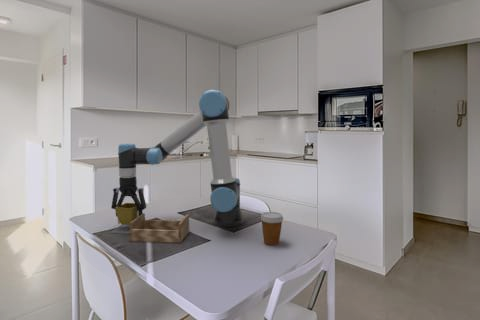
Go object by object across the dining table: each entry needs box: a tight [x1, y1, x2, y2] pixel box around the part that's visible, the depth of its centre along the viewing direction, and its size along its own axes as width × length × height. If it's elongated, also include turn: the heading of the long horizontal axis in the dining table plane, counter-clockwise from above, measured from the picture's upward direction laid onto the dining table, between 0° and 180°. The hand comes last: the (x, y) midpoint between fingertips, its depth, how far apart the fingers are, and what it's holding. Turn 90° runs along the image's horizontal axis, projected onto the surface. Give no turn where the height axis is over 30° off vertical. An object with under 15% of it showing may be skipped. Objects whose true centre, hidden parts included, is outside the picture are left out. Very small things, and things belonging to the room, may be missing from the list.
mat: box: [109, 223, 130, 235], centre depth 140 cm, size 13×13×1 cm
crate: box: [129, 213, 190, 244], centre depth 130 cm, size 22×14×8 cm, turn 86°
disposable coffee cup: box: [260, 211, 284, 246], centre depth 123 cm, size 10×10×12 cm
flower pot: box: [115, 202, 138, 225], centre depth 139 cm, size 9×9×9 cm
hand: (129, 223), depth 140 cm, fingers closed on flower pot, 9 cm apart
